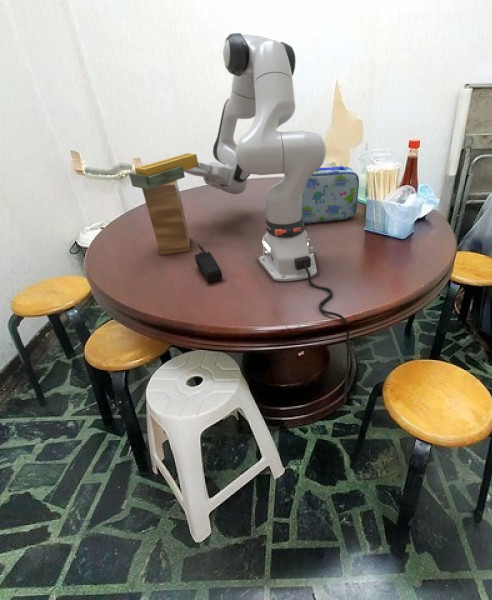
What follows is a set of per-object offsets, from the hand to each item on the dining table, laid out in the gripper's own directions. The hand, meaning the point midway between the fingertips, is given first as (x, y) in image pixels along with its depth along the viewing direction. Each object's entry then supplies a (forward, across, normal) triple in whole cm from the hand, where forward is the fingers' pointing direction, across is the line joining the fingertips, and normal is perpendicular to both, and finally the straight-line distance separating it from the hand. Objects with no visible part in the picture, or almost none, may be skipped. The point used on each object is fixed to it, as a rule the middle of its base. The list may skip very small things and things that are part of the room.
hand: (188, 163), depth 122 cm
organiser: (-2, 0, +30) cm, 30 cm away
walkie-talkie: (+4, +21, +33) cm, 40 cm away
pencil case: (+7, 0, +5) cm, 9 cm away
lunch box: (-44, +36, +5) cm, 57 cm away
